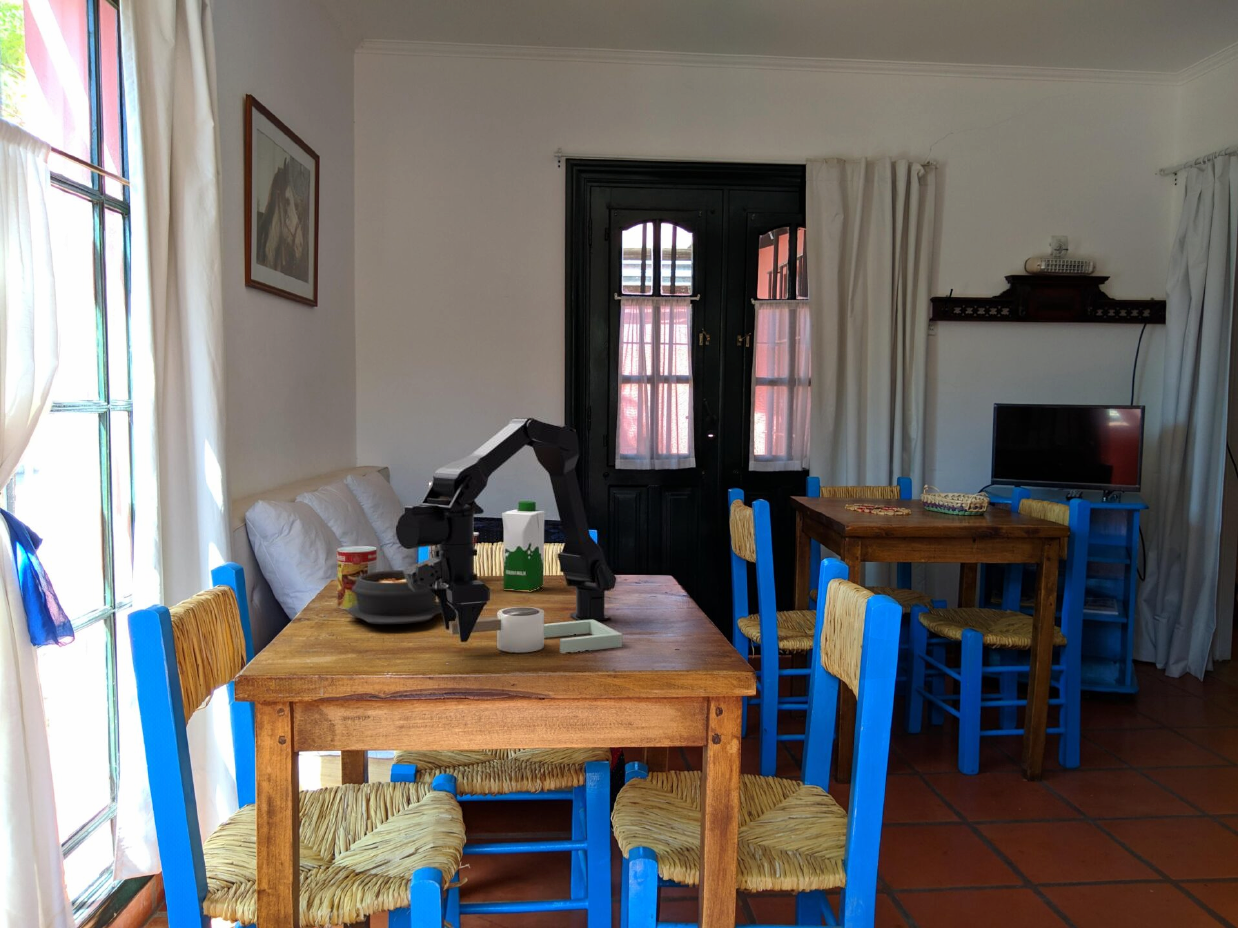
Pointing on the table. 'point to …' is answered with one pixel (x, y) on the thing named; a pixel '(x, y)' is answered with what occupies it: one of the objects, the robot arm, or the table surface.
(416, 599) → the casserole
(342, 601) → the canned food
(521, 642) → the saucepan
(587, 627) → the u-shaped frame
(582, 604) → the robot arm
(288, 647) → the table surface
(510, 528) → the milk carton
